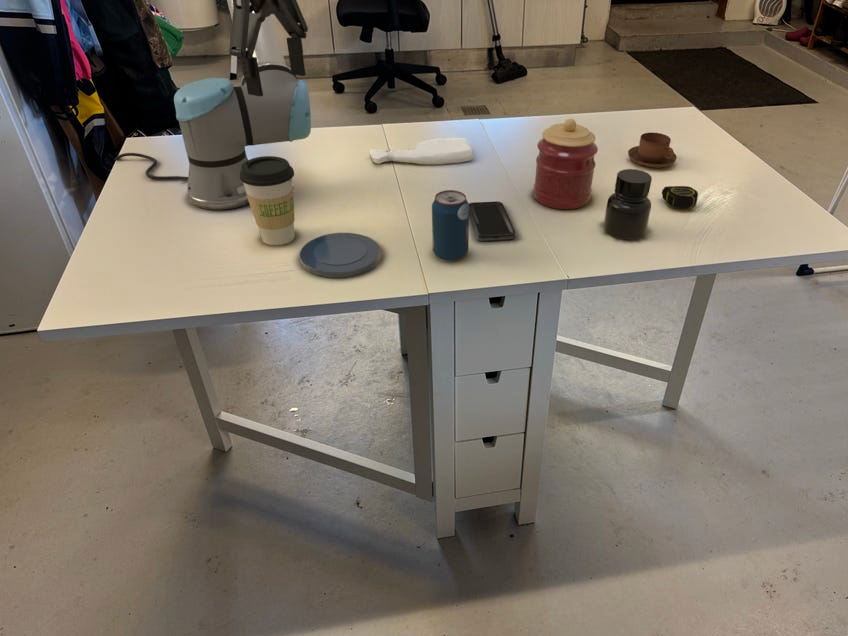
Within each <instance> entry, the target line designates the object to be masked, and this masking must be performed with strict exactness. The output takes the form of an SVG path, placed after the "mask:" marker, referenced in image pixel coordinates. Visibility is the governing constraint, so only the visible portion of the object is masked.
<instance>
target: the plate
mask: <svg viewBox="0 0 848 636" xmlns="http://www.w3.org/2000/svg"><path fill="white" fill-rule="evenodd" d="M299 259H300V260H299V261H300V264H301V265H302V268H304V269H305V270H306V271H307V272H309V273H311V274H313V275H315V276H318V277H322V278H331V279H342V278H350V277H354V276H358V275H359V276H360V275H362V274H364V273H367V272H368V271H371V270H372V269H373V268H374V267H376V266H377V264H378V263H379V262H380V259H381V248H380V245H379V244H378V243H377V241H375V240H374V239H373V238H371V237H369V236H367V235H364V234H360V233H354V232H333V233H328V234H323V235H320V236H317V237H315V238H313V239H311V240H309V241H308V242H306V243H305V244H304V245H303V246H302V248H301V249H300V252H299Z"/></svg>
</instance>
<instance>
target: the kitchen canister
mask: <svg viewBox="0 0 848 636" xmlns="http://www.w3.org/2000/svg"><path fill="white" fill-rule="evenodd" d="M541 135H542V138H541V139H539V140H538V142H537V143H536V145H537V149H538V155H537V156H536V158H535V162H536V165H535V166H536V167H535V179H534V183H533V196H534V199H535V200H536V201H537V202H538V203H540V204H541V205H544V206H545V207H548V208H552V209H556V210H557V209H558V210H573V209H579V208H582V207H584V206H586V205H587V204H588V203H589V202H590V198H591V196H592V191H593V189H592V186H593V180H594V173H595V168H596V166H597V165H596V161H595V156H596V154H597V153H598V152H599V151H598V150H599V149H598V146H597V144H596V143H595V141H596V136H595V133H593V132H592V131H591V130H590V129H588V128H587V127H585V126H584V125H581V124H577V121H576V120H575V119H573V118H567V119H565V121H564V122H561V123H556V124H553V125H550V127H548V128H546V129H544V130H543V131H542V134H541Z"/></svg>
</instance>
